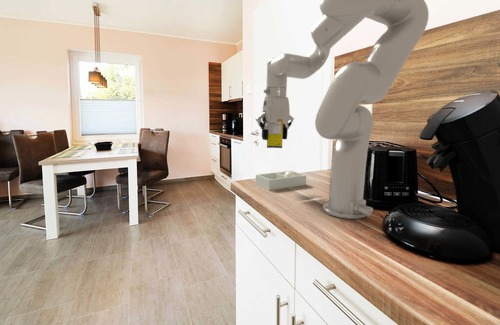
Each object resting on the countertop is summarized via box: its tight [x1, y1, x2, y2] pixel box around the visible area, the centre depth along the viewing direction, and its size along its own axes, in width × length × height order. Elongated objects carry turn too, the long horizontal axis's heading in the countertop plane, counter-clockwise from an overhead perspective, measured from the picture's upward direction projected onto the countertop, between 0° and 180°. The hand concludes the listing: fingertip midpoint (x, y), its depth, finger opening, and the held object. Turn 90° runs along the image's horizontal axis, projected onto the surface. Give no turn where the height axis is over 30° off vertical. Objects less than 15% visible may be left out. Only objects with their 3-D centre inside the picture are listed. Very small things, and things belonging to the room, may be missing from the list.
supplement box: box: [266, 119, 283, 149], centre depth 102 cm, size 6×6×11 cm
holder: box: [255, 170, 307, 191], centre depth 107 cm, size 10×18×5 cm, turn 119°
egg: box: [284, 170, 295, 177], centre depth 109 cm, size 5×5×5 cm
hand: (274, 139), depth 102 cm, fingers closed on supplement box, 8 cm apart
